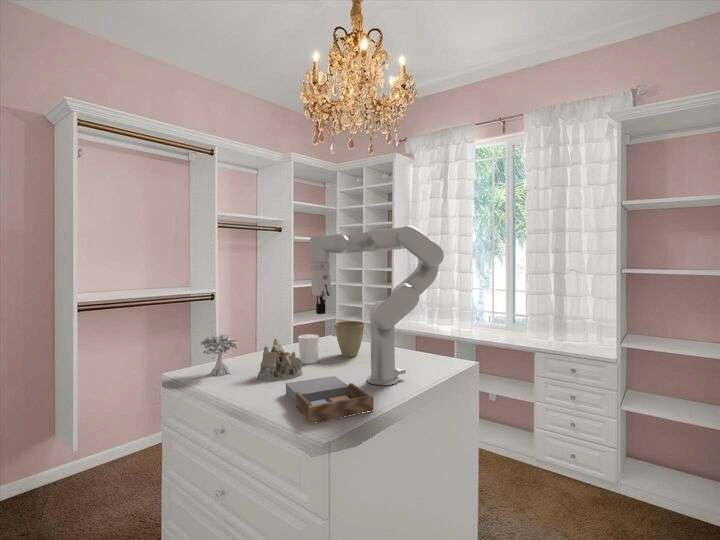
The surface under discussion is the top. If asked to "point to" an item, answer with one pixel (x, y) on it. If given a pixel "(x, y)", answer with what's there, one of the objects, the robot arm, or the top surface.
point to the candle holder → (308, 348)
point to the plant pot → (349, 337)
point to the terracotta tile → (338, 398)
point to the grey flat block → (318, 389)
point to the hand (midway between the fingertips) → (320, 313)
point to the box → (335, 406)
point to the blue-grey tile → (318, 402)
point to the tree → (219, 351)
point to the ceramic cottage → (279, 364)
